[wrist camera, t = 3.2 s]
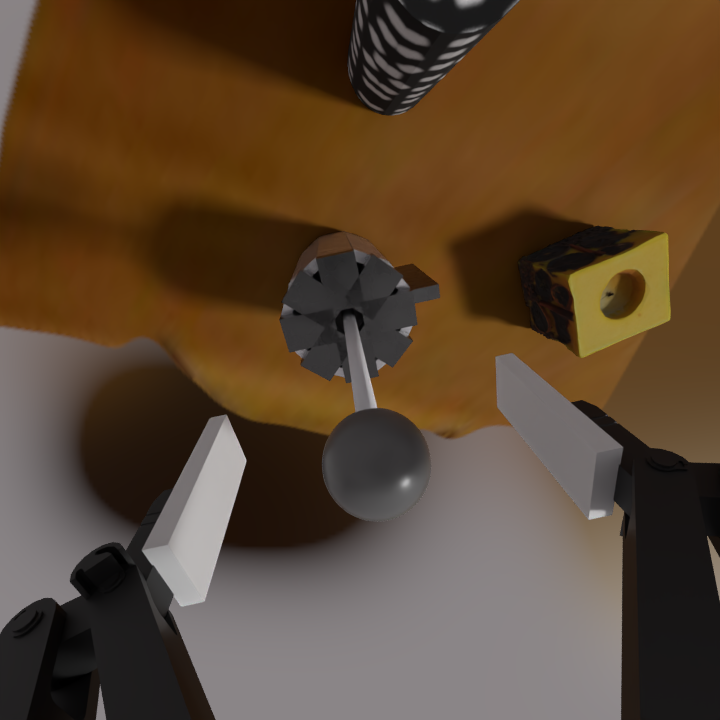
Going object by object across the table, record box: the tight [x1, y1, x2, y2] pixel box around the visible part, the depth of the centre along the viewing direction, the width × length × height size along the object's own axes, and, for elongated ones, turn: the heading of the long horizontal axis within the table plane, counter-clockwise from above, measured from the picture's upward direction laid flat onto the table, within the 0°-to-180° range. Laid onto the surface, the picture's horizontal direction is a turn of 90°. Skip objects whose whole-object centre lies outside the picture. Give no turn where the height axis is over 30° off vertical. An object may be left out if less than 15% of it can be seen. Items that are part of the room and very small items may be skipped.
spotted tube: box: [348, 0, 520, 115], centre depth 25 cm, size 8×8×20 cm
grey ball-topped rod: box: [313, 262, 431, 521], centre depth 22 cm, size 8×8×24 cm
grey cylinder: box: [279, 231, 440, 383], centre depth 35 cm, size 10×13×16 cm
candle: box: [518, 226, 670, 358], centre depth 40 cm, size 10×10×10 cm
